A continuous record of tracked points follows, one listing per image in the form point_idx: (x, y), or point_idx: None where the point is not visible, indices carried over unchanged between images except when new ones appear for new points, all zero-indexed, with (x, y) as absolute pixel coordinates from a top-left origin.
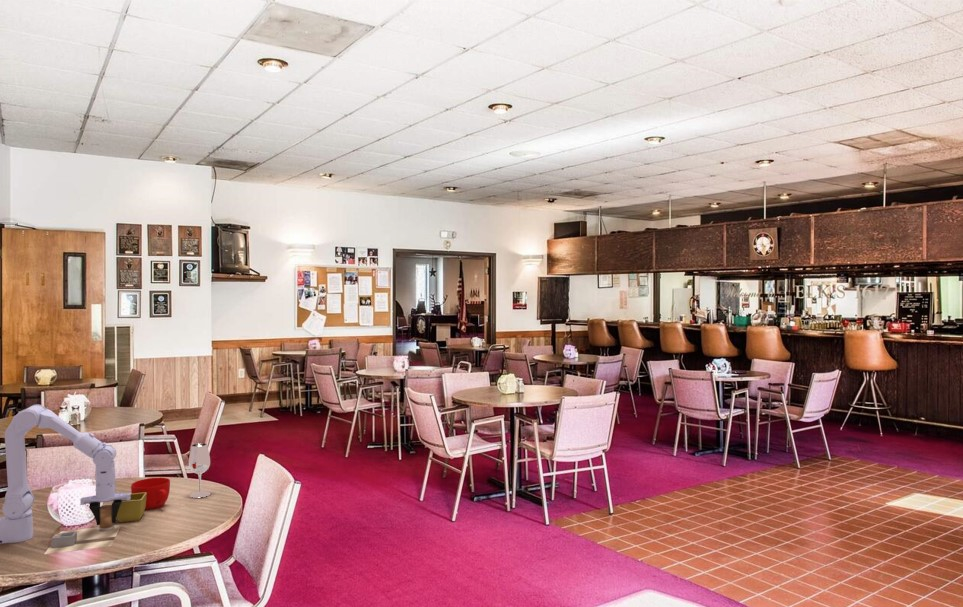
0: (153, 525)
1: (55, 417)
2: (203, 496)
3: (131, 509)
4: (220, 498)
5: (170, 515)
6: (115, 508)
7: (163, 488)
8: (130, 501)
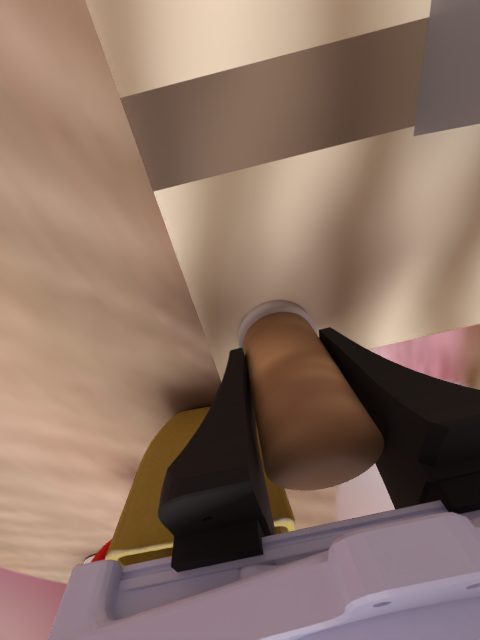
0: (90, 396)
1: None
2: (90, 559)
3: None
4: (28, 556)
5: (94, 471)
6: (215, 433)
7: None
8: None
